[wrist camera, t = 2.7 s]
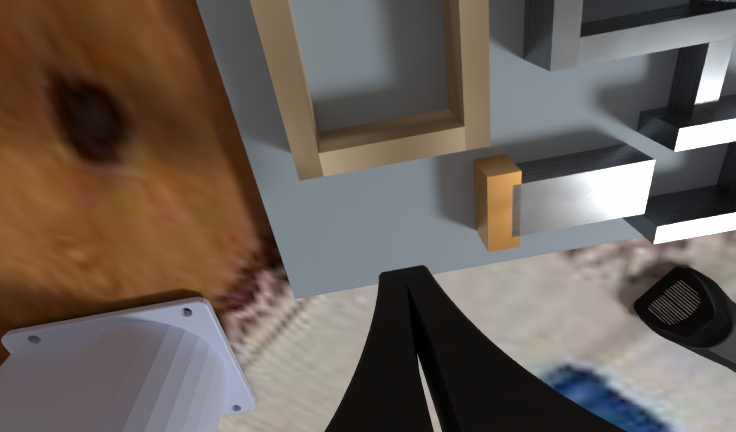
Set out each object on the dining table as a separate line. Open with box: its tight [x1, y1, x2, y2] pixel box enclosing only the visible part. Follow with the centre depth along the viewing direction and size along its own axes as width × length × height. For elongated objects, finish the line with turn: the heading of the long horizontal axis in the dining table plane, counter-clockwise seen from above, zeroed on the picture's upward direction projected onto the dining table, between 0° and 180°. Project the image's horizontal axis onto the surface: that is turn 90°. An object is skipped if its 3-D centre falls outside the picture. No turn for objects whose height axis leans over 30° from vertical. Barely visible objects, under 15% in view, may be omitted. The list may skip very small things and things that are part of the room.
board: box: [196, 0, 736, 299], centre depth 15 cm, size 19×16×1 cm
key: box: [473, 144, 655, 252], centre depth 16 cm, size 6×3×2 cm, turn 99°
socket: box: [523, 0, 736, 244], centre depth 13 cm, size 9×13×2 cm
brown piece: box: [250, 0, 490, 181], centre depth 13 cm, size 6×6×2 cm
